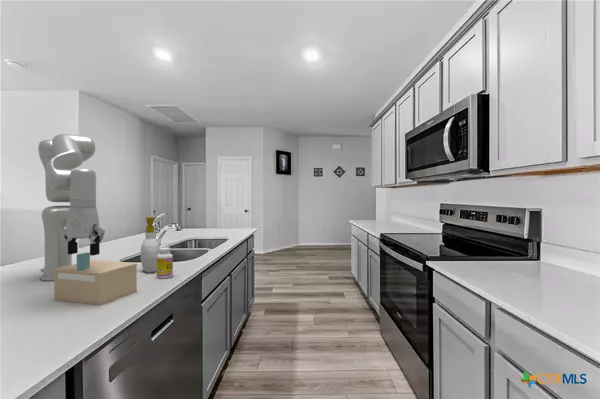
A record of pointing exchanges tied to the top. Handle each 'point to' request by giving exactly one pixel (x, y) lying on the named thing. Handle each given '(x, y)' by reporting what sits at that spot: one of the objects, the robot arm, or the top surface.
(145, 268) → the soap bottle
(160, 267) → the supplement bottle
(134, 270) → the carton
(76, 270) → the lid
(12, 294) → the top surface
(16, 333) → the top surface
